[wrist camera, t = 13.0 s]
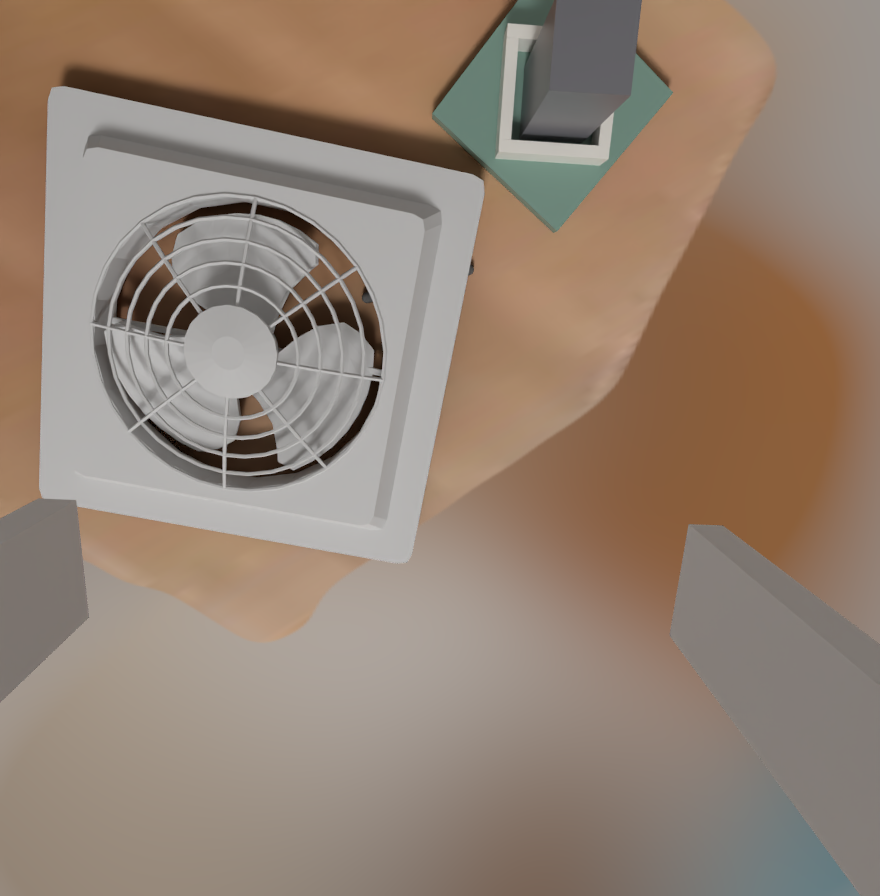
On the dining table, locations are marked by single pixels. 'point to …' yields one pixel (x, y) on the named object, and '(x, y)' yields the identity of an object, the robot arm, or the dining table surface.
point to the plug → (579, 69)
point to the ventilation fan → (244, 324)
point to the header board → (499, 113)
